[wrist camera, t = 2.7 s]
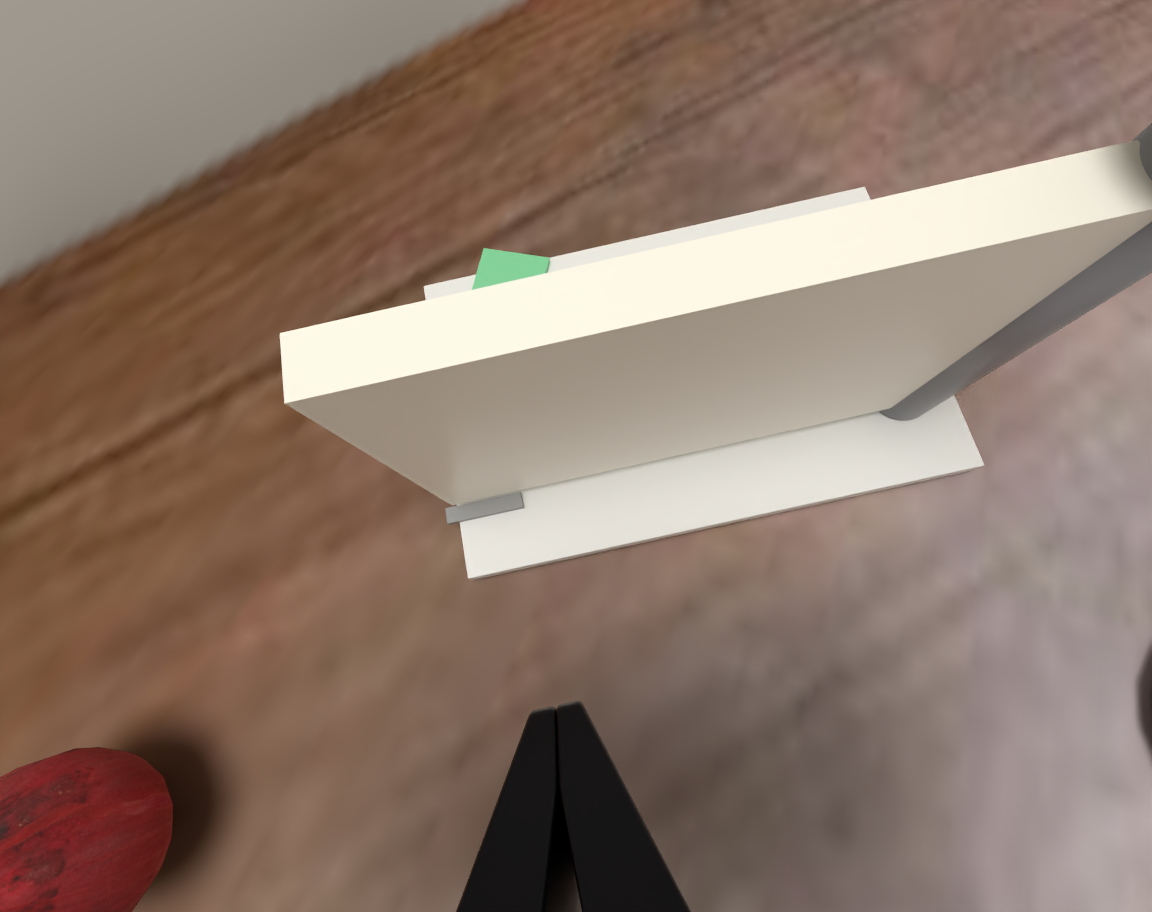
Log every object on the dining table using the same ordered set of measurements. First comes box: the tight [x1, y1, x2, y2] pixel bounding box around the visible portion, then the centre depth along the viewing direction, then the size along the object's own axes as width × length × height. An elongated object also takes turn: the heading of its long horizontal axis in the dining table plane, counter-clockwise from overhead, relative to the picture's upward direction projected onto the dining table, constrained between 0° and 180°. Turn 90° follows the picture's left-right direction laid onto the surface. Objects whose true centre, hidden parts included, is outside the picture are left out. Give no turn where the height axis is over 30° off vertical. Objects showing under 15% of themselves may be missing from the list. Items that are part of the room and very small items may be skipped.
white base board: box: [424, 187, 984, 580], centre depth 23 cm, size 20×14×1 cm
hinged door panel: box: [280, 123, 1152, 505], centre depth 14 cm, size 20×4×15 cm, turn 102°
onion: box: [0, 747, 173, 912], centre depth 17 cm, size 6×6×8 cm
